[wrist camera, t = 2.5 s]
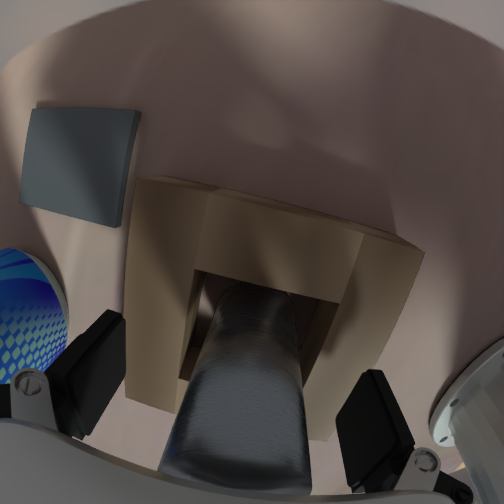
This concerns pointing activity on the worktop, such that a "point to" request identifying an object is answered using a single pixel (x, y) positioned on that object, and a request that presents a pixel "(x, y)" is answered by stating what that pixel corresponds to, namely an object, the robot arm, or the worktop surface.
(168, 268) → the pocket block
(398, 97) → the worktop surface
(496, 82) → the worktop surface
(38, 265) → the beer can
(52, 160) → the mat
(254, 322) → the rod
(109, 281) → the worktop surface
